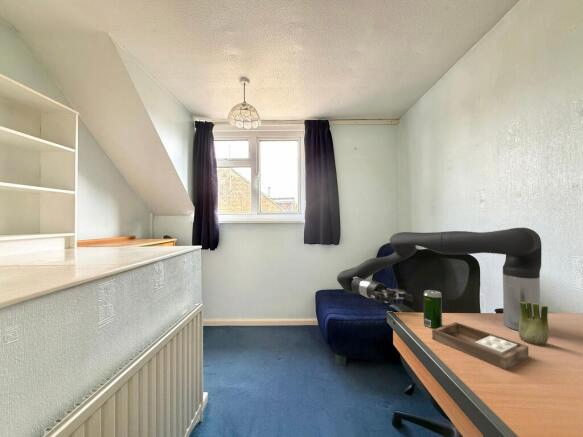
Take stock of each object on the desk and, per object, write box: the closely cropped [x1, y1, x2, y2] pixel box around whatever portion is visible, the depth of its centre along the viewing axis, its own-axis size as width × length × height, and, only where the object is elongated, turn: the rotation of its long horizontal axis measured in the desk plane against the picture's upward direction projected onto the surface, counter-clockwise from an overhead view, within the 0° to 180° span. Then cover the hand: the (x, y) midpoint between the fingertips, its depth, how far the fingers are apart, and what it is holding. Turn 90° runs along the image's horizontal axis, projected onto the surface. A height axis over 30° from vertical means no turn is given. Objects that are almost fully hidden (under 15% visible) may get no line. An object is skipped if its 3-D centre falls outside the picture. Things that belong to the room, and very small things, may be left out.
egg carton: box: [475, 335, 517, 355], centre depth 67 cm, size 8×6×4 cm
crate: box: [431, 321, 530, 371], centre depth 71 cm, size 12×18×4 cm, turn 28°
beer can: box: [423, 289, 443, 330], centre depth 86 cm, size 5×5×12 cm
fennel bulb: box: [518, 302, 550, 347], centre depth 74 cm, size 6×5×12 cm
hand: (404, 300), depth 95 cm, fingers open, 8 cm apart
